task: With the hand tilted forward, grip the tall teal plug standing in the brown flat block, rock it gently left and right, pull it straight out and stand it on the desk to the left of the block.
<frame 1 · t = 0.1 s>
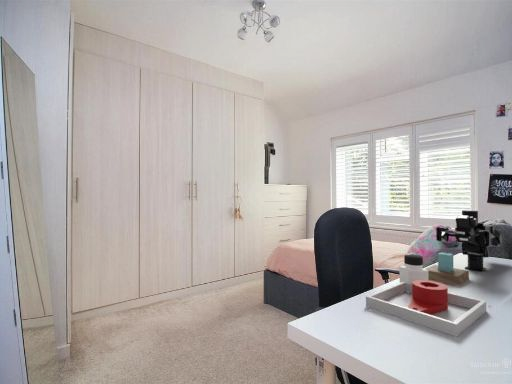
hand: (454, 238, 115), 17 cm above the table, tool horizontal, fingers open, 9 cm apart
red oval ring: (424, 310, 86), resting in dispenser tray
medicine bottle: (413, 287, 106), on the table
plug: (445, 278, 114), resting on brown flat block
brown flat block: (445, 280, 114), on the table
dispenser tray: (424, 308, 86), on the table
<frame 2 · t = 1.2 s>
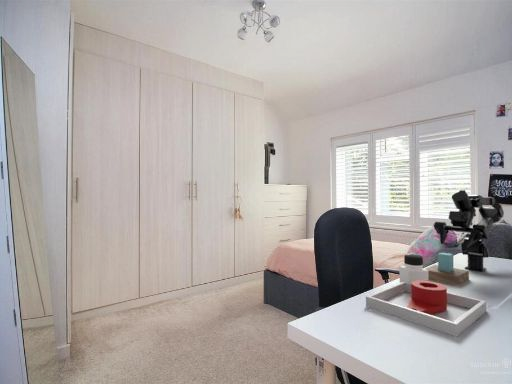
hand: (453, 245, 118), 13 cm above the table, tool tilted 45°, fingers open, 9 cm apart
nothing on the table moved.
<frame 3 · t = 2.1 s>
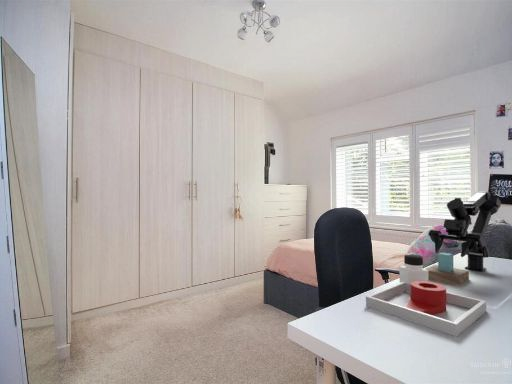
hand: (448, 254, 116), 10 cm above the table, tool tilted 45°, fingers open, 9 cm apart
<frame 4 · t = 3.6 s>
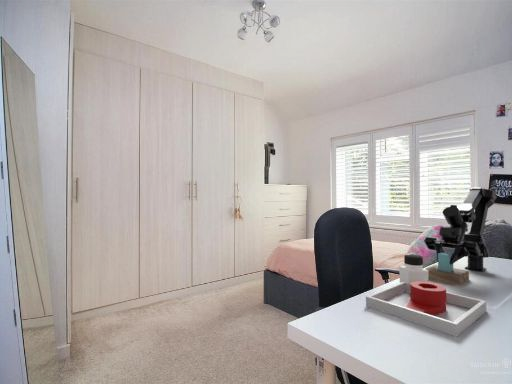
hand: (444, 262, 114), 7 cm above the table, tool tilted 45°, fingers closed on plug, 4 cm apart
plug: (445, 278, 114), point 1 cm above the table, touching gripper, brown flat block
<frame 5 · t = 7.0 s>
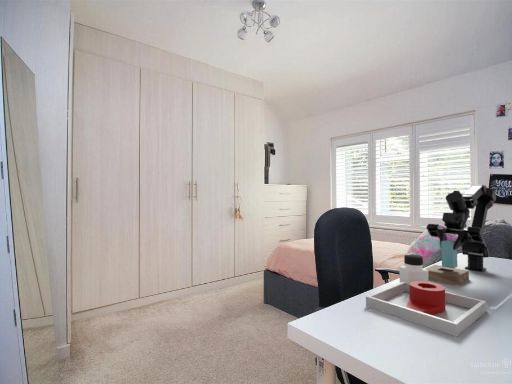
hand: (447, 248, 113), 13 cm above the table, tool tilted 45°, fingers closed on plug, 4 cm apart
red oval ring: (421, 311, 85), resting in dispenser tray
plug: (449, 266, 113), point 6 cm above the table, touching gripper
everything else where it was.
when the fingers open (8 cm above the table, at t = 10.1 s): plug stays where it is, on the table.
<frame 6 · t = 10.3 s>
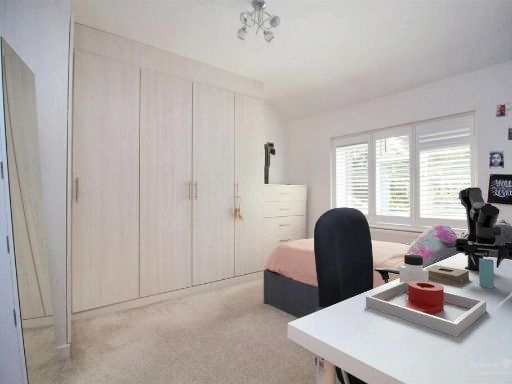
hand: (486, 266, 105), 8 cm above the table, tool tilted 45°, fingers open, 6 cm apart
red oval ring: (420, 311, 85), resting in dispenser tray
plug: (486, 287, 106), on the table
everything else where it was.
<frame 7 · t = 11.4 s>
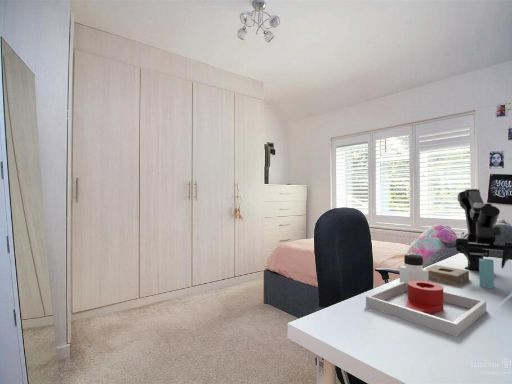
hand: (486, 265, 106), 8 cm above the table, tool tilted 45°, fingers open, 9 cm apart
nothing on the table moved.
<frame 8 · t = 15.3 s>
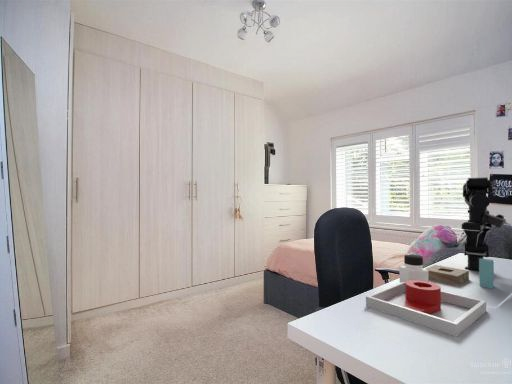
hand: (478, 246, 117), 13 cm above the table, tool pointing down, fingers open, 9 cm apart
nothing on the table moved.
at the end: plug inside the target area (0.1 cm from its centre), on the table; plug tilted 0°; plug touching table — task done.
